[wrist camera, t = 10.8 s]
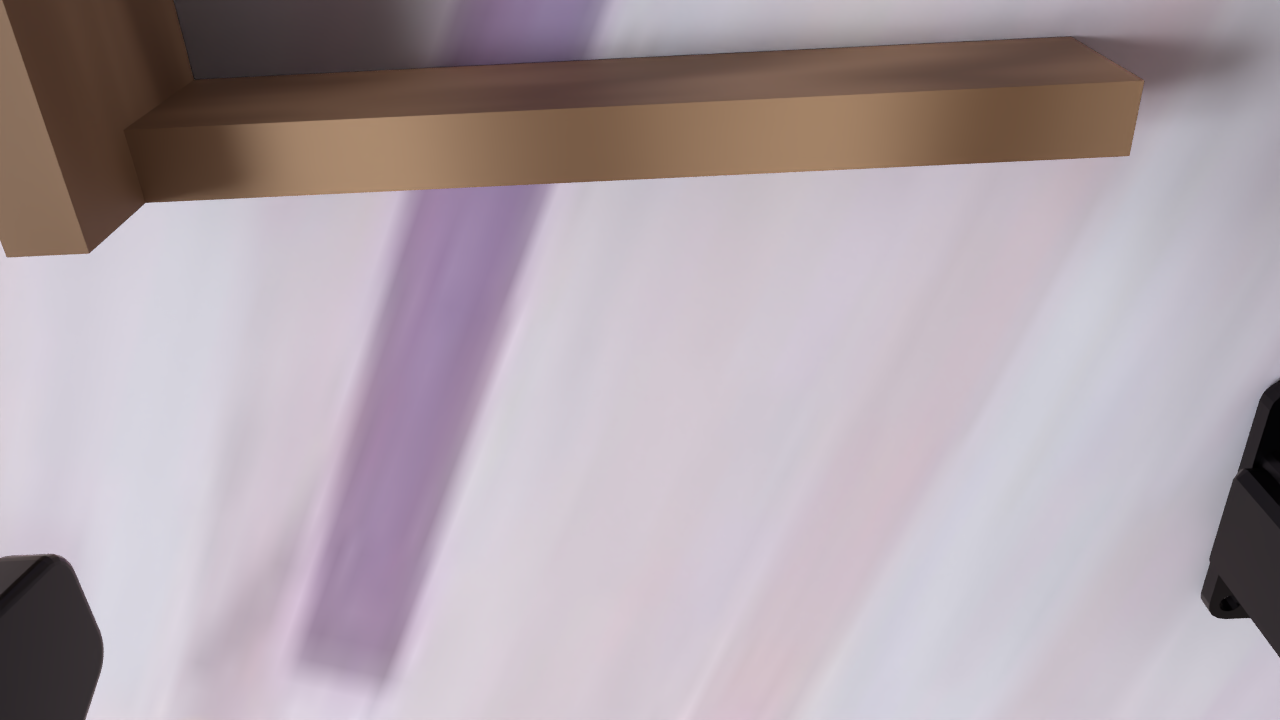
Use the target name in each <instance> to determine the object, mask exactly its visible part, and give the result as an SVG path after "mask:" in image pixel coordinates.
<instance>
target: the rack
mask: <svg viewBox="0 0 1280 720" xmlns="http://www.w3.org/2000/svg"><path fill="white" fill-rule="evenodd" d="M1143 85H1144V80H1143V79H1141V78H1139V77H1138V76H1136V75H1134V74H1133V73H1131V72H1129V71H1128V70H1126V69H1124V68H1123V67H1121V66H1119V65H1118V64H1116V63H1114V62H1113V61H1111V60H1109V59H1108V58H1106V57H1104V56H1103V55H1101V54H1099V53H1098V52H1096V51H1094V50H1093V49H1091V48H1089V47H1088V46H1086V45H1084V44H1083V43H1081V42H1079V41H1078V40H1076V39H1074V38H1073V37H1051V38H1030V39H1010V40H990V41H969V42H949V43H929V44H908V45H888V46H868V47H847V48H827V49H806V50H786V51H766V52H745V53H725V54H705V55H684V56H664V57H644V58H623V59H603V60H582V61H562V62H542V63H521V64H501V65H481V66H460V67H440V68H420V69H399V70H379V71H358V72H338V73H318V74H297V75H277V76H257V77H236V78H216V79H196V80H194V77H193V74H192V70H191V66H190V62H189V58H188V55H187V51H186V47H185V43H184V39H183V36H182V32H181V28H180V24H179V20H178V17H177V13H176V9H175V5H174V1H173V0H0V241H1V243H2V246H3V249H4V251H5V254H6V256H7V257H24V256H45V255H67V254H88V253H90V252H91V251H92V250H94V249H95V248H96V247H97V246H98V245H99V244H100V243H101V242H102V241H104V240H105V239H106V238H107V237H108V236H109V235H110V234H111V233H112V232H114V231H115V230H116V229H117V228H118V227H119V226H120V225H121V224H122V223H124V222H125V221H126V220H127V219H128V218H129V217H130V216H131V215H132V214H134V213H135V212H136V211H137V210H138V209H139V208H140V207H141V206H142V205H144V204H145V203H151V202H172V201H193V200H214V199H235V198H256V197H277V196H298V195H319V194H340V193H361V192H382V191H403V190H424V189H445V188H466V187H487V186H508V185H529V184H550V183H571V182H592V181H613V180H634V179H655V178H676V177H697V176H718V175H739V174H760V173H782V172H803V171H824V170H845V169H866V168H887V167H908V166H929V165H950V164H971V163H992V162H1013V161H1034V160H1055V159H1076V158H1097V157H1118V156H1129V155H1130V150H1131V145H1132V140H1133V135H1134V130H1135V125H1136V120H1137V115H1138V110H1139V105H1140V100H1141V95H1142V90H1143Z"/></svg>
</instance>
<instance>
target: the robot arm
mask: <svg viewBox="0 0 1280 720" xmlns="http://www.w3.org/2000/svg"><path fill="white" fill-rule="evenodd" d="M1209 560H1210V565H1209V568H1208V572H1207V575H1206V578H1205V582H1204V585H1203V588H1202V591H1201V599H1202V601H1203V603H1204V604H1205V606H1206V607H1207V608H1208V610H1209V611H1210V613H1211V614H1212V615H1213V616H1215V617H1217V618H1222V619H1234V618H1251V619H1252V620H1253V622H1254V623H1255V625H1256V626H1257V627H1258V629H1259V630H1260V631H1261V633H1262V634H1263V635H1264V637H1265V638H1266V639H1267V641H1268V642H1269V644H1270V645H1271V646H1272V648H1273V649H1274V650H1275V652H1276V653H1277V654H1278V656H1279V657H1280V381H1279V382H1277V383H1275V384H1273V385H1272V386H1270V387H1269V388H1268V389H1267V390H1266V391H1265V392H1264V393H1263V395H1262V397H1261V399H1260V401H1259V404H1258V407H1257V410H1256V414H1255V417H1254V420H1253V424H1252V427H1251V430H1250V433H1249V437H1248V440H1247V443H1246V447H1245V450H1244V453H1243V457H1242V460H1241V463H1240V466H1239V470H1238V473H1237V475H1236V476H1235V478H1234V479H1233V482H1232V485H1231V489H1230V492H1229V495H1228V498H1227V502H1226V505H1225V508H1224V512H1223V515H1222V518H1221V522H1220V525H1219V528H1218V532H1217V535H1216V538H1215V541H1214V545H1213V548H1212V551H1211V555H1210V559H1209ZM1227 596H1228V597H1227ZM1226 597H1227V598H1226ZM1224 598H1225V599H1224ZM102 663H103V641H102V636H101V633H100V630H99V628H98V625H97V623H96V621H95V618H94V616H93V614H92V611H91V609H90V606H89V604H88V602H87V599H86V597H85V595H84V592H83V590H82V588H81V585H80V583H79V580H78V578H77V576H76V573H75V571H74V569H73V567H72V566H71V564H70V563H69V562H68V561H67V560H66V559H65V558H63V557H62V556H58V555H55V554H36V555H13V556H6V557H2V558H0V720H85V719H86V716H87V713H88V710H89V707H90V704H91V701H92V697H93V694H94V691H95V688H96V685H97V682H98V679H99V676H100V673H101V669H102Z"/></svg>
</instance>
